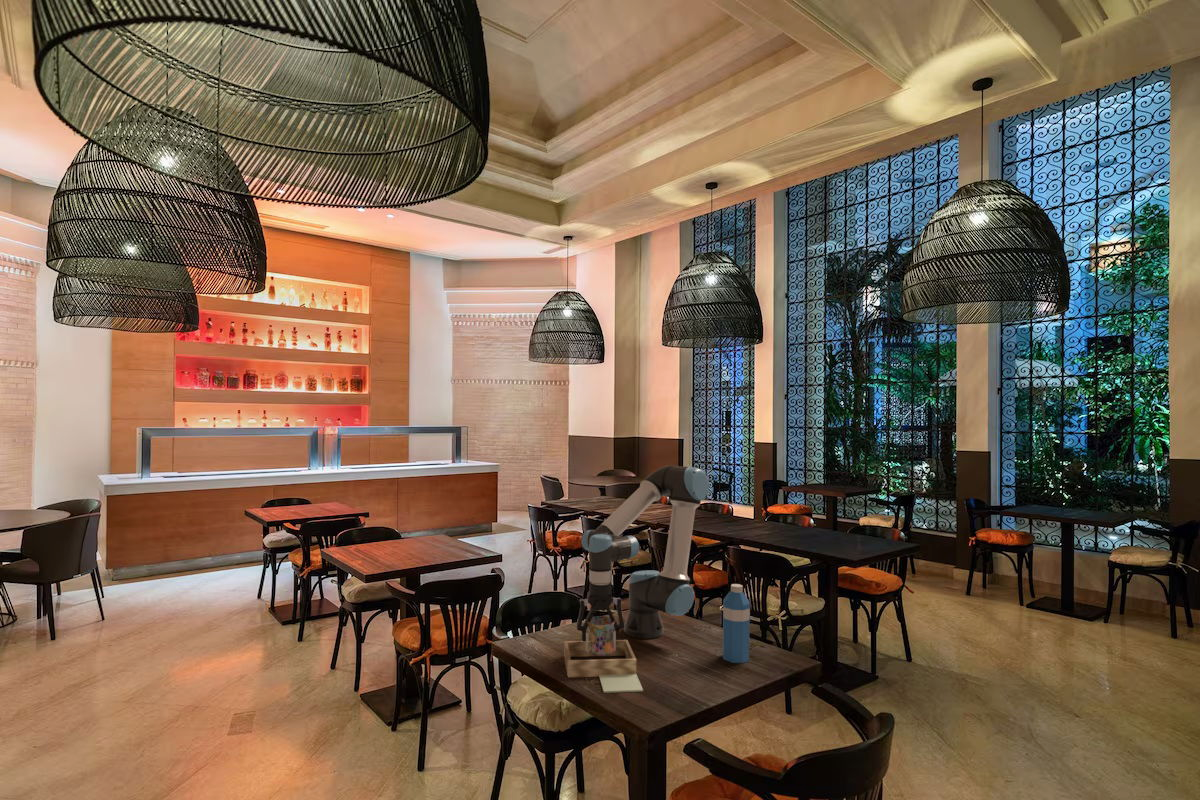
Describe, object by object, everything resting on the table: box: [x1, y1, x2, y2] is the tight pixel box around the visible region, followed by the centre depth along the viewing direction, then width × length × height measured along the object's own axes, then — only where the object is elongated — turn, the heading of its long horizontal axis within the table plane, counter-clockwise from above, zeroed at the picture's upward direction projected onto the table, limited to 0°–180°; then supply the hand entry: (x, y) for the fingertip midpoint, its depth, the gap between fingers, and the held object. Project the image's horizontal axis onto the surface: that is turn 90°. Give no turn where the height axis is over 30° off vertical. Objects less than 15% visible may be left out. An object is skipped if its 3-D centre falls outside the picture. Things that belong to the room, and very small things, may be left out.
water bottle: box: [722, 583, 751, 664], centre depth 224 cm, size 9×9×25 cm
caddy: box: [563, 639, 637, 678], centre depth 215 cm, size 22×18×5 cm
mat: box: [599, 673, 644, 694], centre depth 200 cm, size 12×12×1 cm
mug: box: [587, 615, 616, 657], centre depth 215 cm, size 12×9×11 cm
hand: (600, 650), depth 215 cm, fingers closed on mug, 8 cm apart
